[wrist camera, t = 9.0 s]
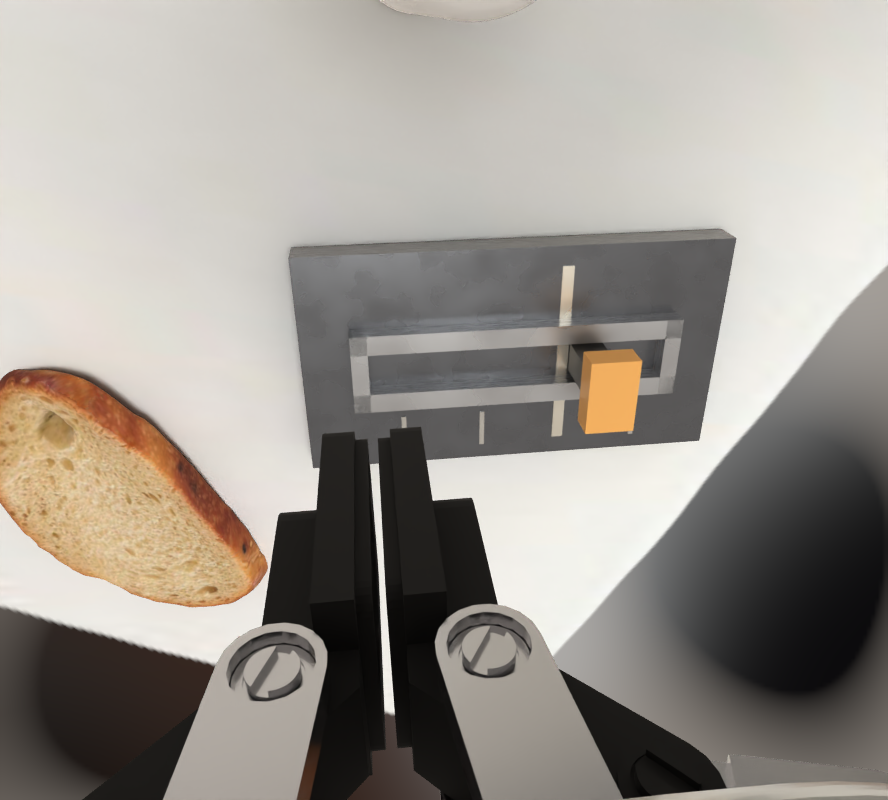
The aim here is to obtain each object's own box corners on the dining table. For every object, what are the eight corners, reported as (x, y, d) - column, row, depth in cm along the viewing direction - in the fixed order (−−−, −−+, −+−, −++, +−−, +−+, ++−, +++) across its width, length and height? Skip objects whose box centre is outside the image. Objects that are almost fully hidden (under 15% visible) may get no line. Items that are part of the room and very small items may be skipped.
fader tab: (610, 321, 44) (642, 361, 39) (603, 385, 46) (633, 430, 42) (565, 324, 44) (591, 364, 39) (560, 388, 46) (585, 434, 41)
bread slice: (265, 596, 55) (260, 634, 52) (6, 582, 52) (-17, 621, 48) (284, 387, 47) (279, 416, 44) (-22, 354, 44) (-52, 382, 40)
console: (721, 228, 45) (745, 243, 42) (687, 425, 51) (706, 450, 48) (291, 247, 42) (286, 264, 39) (314, 451, 49) (312, 478, 46)
